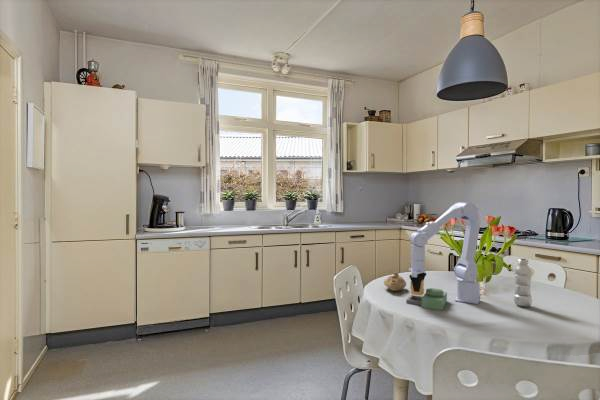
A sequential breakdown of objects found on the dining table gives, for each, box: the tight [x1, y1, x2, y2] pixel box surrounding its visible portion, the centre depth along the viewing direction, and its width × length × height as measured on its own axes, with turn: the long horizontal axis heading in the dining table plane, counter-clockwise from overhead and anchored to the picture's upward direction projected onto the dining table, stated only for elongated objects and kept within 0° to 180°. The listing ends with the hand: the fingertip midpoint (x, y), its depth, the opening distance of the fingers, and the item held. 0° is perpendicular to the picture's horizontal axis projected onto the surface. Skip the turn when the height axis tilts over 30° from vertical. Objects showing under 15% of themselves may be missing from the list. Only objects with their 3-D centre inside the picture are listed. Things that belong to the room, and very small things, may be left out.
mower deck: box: [405, 287, 448, 311], centre depth 158 cm, size 15×14×6 cm
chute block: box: [410, 279, 425, 296], centre depth 160 cm, size 5×4×6 cm
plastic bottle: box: [513, 258, 533, 308], centre depth 153 cm, size 6×7×20 cm
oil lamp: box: [383, 271, 407, 292], centre depth 179 cm, size 11×15×8 cm
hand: (417, 290), depth 159 cm, fingers closed on chute block, 4 cm apart
